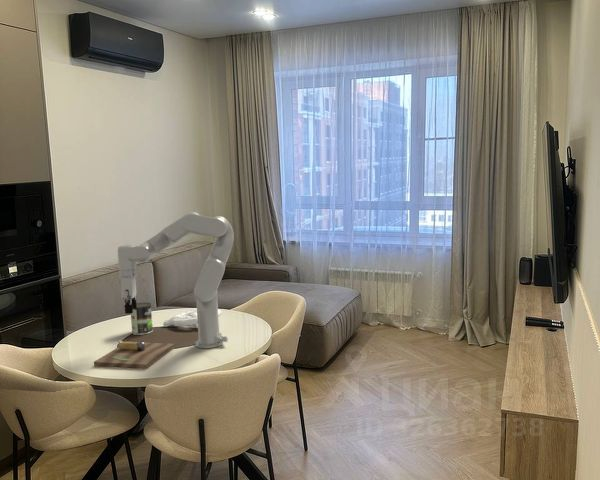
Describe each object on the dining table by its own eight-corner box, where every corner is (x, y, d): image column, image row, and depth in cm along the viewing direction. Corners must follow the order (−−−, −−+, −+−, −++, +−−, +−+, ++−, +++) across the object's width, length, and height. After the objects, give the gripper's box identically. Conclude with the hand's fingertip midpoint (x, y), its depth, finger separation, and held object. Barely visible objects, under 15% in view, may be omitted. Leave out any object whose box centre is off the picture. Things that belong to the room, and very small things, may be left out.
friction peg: (146, 348, 235) (145, 341, 234) (142, 350, 232) (142, 343, 232) (120, 347, 238) (120, 339, 237) (117, 349, 235) (116, 342, 234)
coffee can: (156, 329, 272) (154, 302, 270) (147, 335, 262) (144, 307, 260) (138, 328, 274) (136, 302, 272) (128, 334, 264) (125, 307, 262)
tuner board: (174, 348, 241) (174, 343, 241) (146, 369, 216) (145, 364, 216) (127, 345, 247) (127, 341, 246) (94, 366, 222) (93, 361, 221)
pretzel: (160, 331, 272) (158, 319, 272) (183, 320, 295) (181, 309, 294) (208, 327, 264) (206, 315, 263) (229, 316, 286) (227, 304, 286)
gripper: (123, 269, 245) (126, 306, 247) (115, 277, 228) (118, 316, 230) (140, 268, 246) (143, 305, 248) (132, 276, 229) (135, 315, 231)
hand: (131, 310), depth 239 cm, fingers open, 8 cm apart
